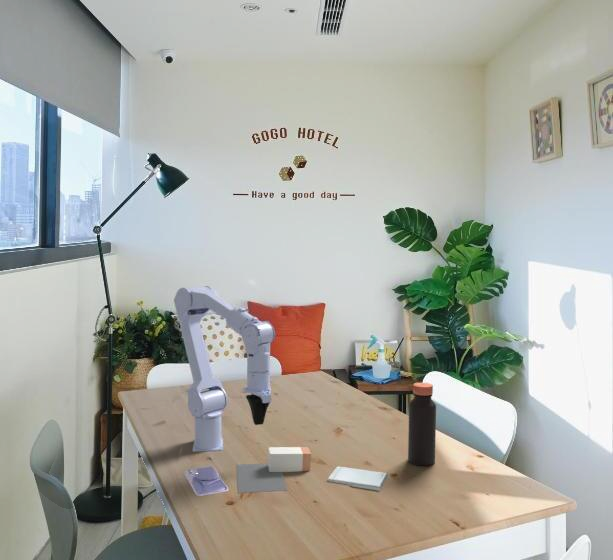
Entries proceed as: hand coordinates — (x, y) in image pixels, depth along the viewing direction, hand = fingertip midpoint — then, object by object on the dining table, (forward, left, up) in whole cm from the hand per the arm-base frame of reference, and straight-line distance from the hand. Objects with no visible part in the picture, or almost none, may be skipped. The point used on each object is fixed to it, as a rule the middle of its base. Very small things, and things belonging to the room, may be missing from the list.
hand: (258, 423), depth 140 cm
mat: (+9, 0, -10) cm, 13 cm away
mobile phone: (+9, -13, -11) cm, 19 cm away
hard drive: (+12, +23, -11) cm, 28 cm away
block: (+4, +2, -8) cm, 9 cm away
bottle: (+3, +42, -11) cm, 43 cm away
